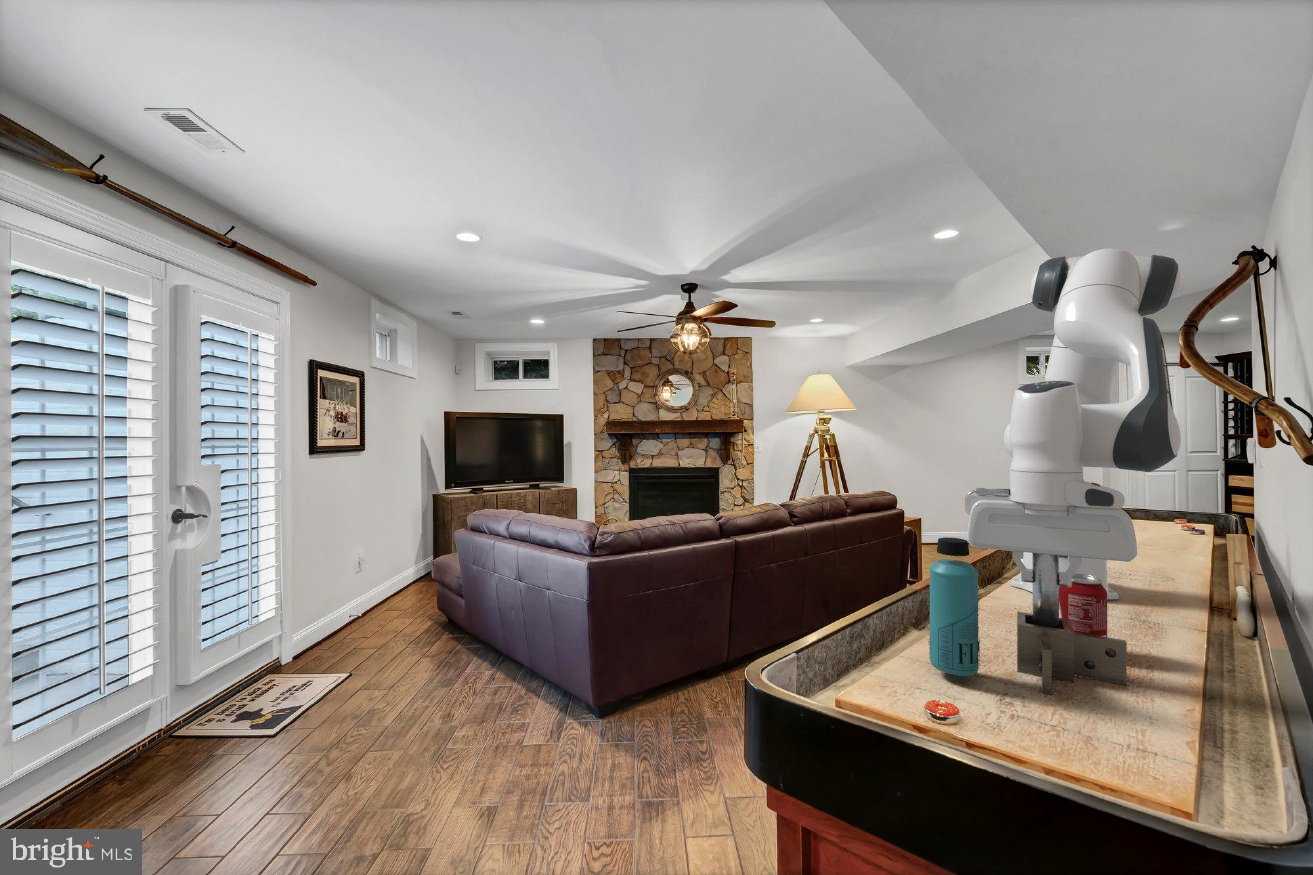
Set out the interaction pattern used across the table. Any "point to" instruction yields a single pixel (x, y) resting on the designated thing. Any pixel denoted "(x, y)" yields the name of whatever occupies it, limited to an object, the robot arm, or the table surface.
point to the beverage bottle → (954, 611)
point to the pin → (1045, 589)
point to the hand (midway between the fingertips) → (1045, 583)
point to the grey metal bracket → (1067, 653)
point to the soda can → (1085, 605)
